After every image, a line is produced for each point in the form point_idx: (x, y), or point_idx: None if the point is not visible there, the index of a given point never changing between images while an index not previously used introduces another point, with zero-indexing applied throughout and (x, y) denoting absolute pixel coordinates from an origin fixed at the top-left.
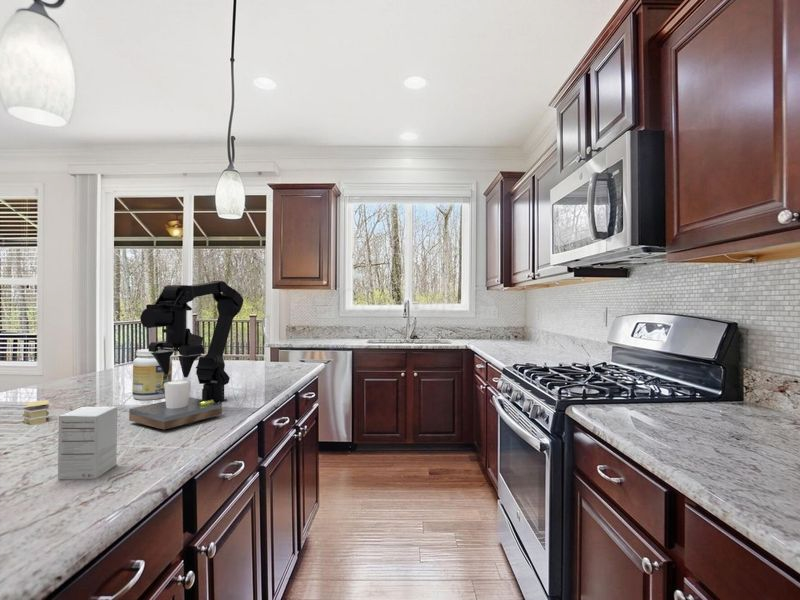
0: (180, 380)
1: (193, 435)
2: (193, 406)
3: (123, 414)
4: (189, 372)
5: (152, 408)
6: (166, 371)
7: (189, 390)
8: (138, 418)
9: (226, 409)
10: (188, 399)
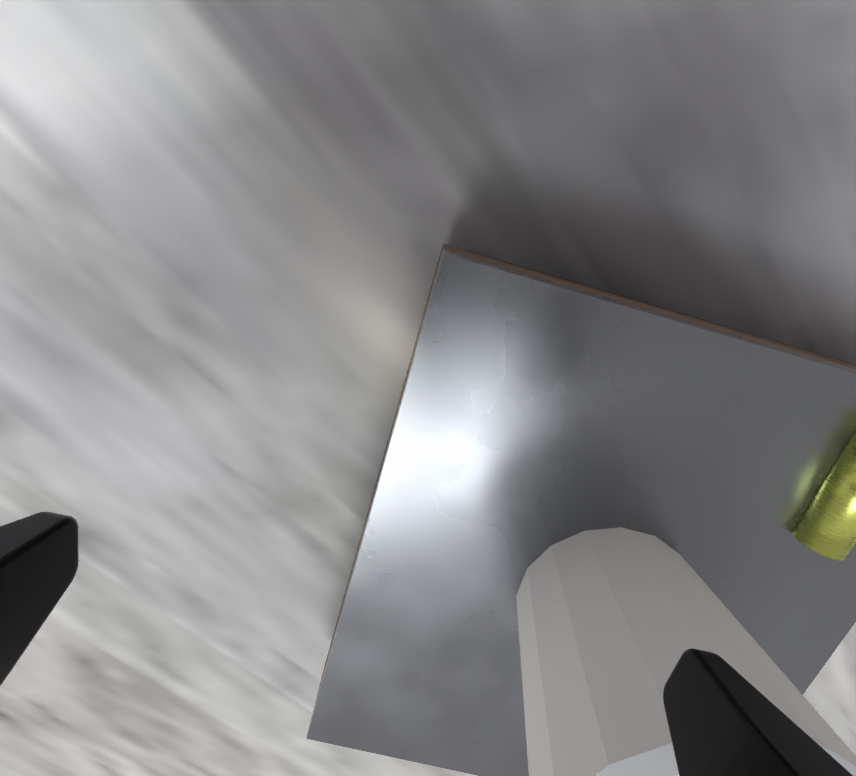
0: (672, 772)
1: (851, 714)
2: (758, 575)
3: (74, 489)
4: (810, 743)
5: (460, 696)
6: (27, 599)
7: (782, 674)
8: None
9: (814, 87)
10: (712, 592)
